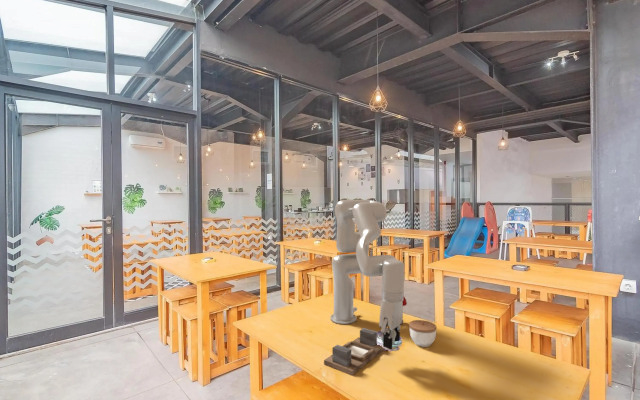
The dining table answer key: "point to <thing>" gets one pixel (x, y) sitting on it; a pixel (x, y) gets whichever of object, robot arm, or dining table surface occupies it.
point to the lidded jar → (422, 332)
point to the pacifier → (393, 342)
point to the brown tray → (355, 353)
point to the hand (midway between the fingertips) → (391, 344)
